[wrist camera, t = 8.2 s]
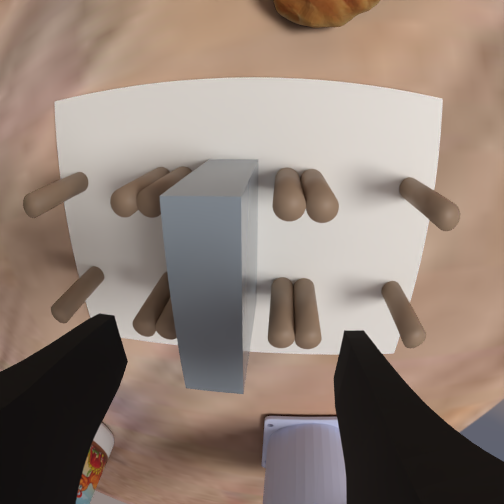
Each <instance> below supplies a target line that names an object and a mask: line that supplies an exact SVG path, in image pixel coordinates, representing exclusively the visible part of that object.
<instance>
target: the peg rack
mask: <svg viewBox="0 0 504 504" xmlns="http://www.w3.org/2000/svg"><path fill="white" fill-rule="evenodd" d="M441 120H442V99H441V98H437V97H432V96H428V95H423V94H418V93H413V92H408V91H402V90H397V89H391V88H385V87H378V86H371V85H364V84H356V83H347V82H337V81H326V80H313V79H296V78H259V77H250V78H213V79H196V80H182V81H171V82H162V83H153V84H145V85H138V86H131V87H124V88H118V89H112V90H106V91H101V92H95V93H90V94H85V95H81V96H76V97H72V98H67V99H63V100H59V101H55V123H56V138H57V150H58V160H59V169H60V178H61V179H60V180H58V181H56V182H53V183H51V184H49V185H46V186H44V187H42V188H40V189H38V190H35V191H33V192H31V193H29V194H27V195H26V196H25V197H24V201H23V206H24V210H25V212H26V214H27V215H28V216H29V217H31V218H36V217H38V216H40V215H41V214H43V213H45V212H47V211H48V210H50V209H52V208H54V207H56V206H57V205H59V204H61V203H63V202H64V206H65V212H66V218H67V223H68V229H69V234H70V239H71V244H72V248H73V253H74V257H75V262H76V266H77V270H78V274H79V279H78V280H77V281H76V282H75V283H74V284H73V285H72V286H71V287H70V288H69V289H68V290H67V291H66V292H65V293H64V294H63V295H62V296H61V297H60V298H59V299H58V300H57V301H56V302H55V303H54V304H53V306H52V307H51V312H52V314H53V316H54V318H55V319H56V320H58V321H59V322H61V323H67V322H68V320H69V319H70V318H71V317H72V316H73V315H74V313H75V312H76V311H77V310H78V309H79V308H80V306H81V305H82V304H83V303H84V302H85V301H86V305H87V308H88V311H89V315H90V318H92V317H93V316H95V315H97V314H99V313H100V314H107V315H114V316H115V320H116V323H117V327H118V330H119V334H120V337H121V338H127V339H134V340H141V341H148V342H156V343H164V344H172V345H178V342H177V336H176V330H175V323H174V317H173V310H172V303H171V296H170V289H169V282H168V274H167V266H166V257H165V248H164V239H163V229H162V219H161V208H160V195H162V194H163V193H164V192H166V191H167V190H168V189H169V188H171V187H172V186H173V185H175V184H176V183H177V182H179V181H180V180H181V179H183V178H184V177H186V176H187V175H188V174H190V173H191V172H192V171H194V170H195V169H197V168H198V167H199V166H201V165H202V164H204V163H205V162H206V161H208V160H209V159H254V160H258V240H257V302H256V309H255V316H254V323H253V331H252V338H251V345H250V352H267V353H290V354H339V353H340V348H341V343H342V338H343V334H344V330H348V331H355V330H364V331H365V333H366V334H367V335H368V336H369V338H370V339H371V340H372V341H373V343H374V344H375V345H376V347H377V348H378V349H379V351H380V352H381V353H382V354H391V353H394V352H395V349H396V346H397V343H398V340H399V337H400V336H401V339H402V341H403V343H404V345H405V346H406V347H407V348H415V347H417V346H419V345H421V344H422V343H423V342H424V340H425V338H426V332H425V330H424V328H423V326H422V324H421V323H420V321H419V319H418V317H417V315H416V313H415V311H414V310H413V308H412V306H411V304H410V301H411V297H412V293H413V290H414V286H415V282H416V278H417V274H418V270H419V266H420V262H421V257H422V253H423V248H424V244H425V239H426V234H427V229H428V224H429V220H430V221H431V222H433V223H434V224H435V225H436V226H437V227H438V228H439V229H441V230H443V231H450V230H452V229H453V228H455V227H456V225H457V224H458V222H459V219H460V210H459V208H458V206H457V205H456V204H454V203H453V202H451V201H450V200H448V199H447V198H445V197H444V196H442V195H440V194H439V193H437V192H436V191H434V188H435V180H436V173H437V165H438V156H439V146H440V134H441Z"/></svg>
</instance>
